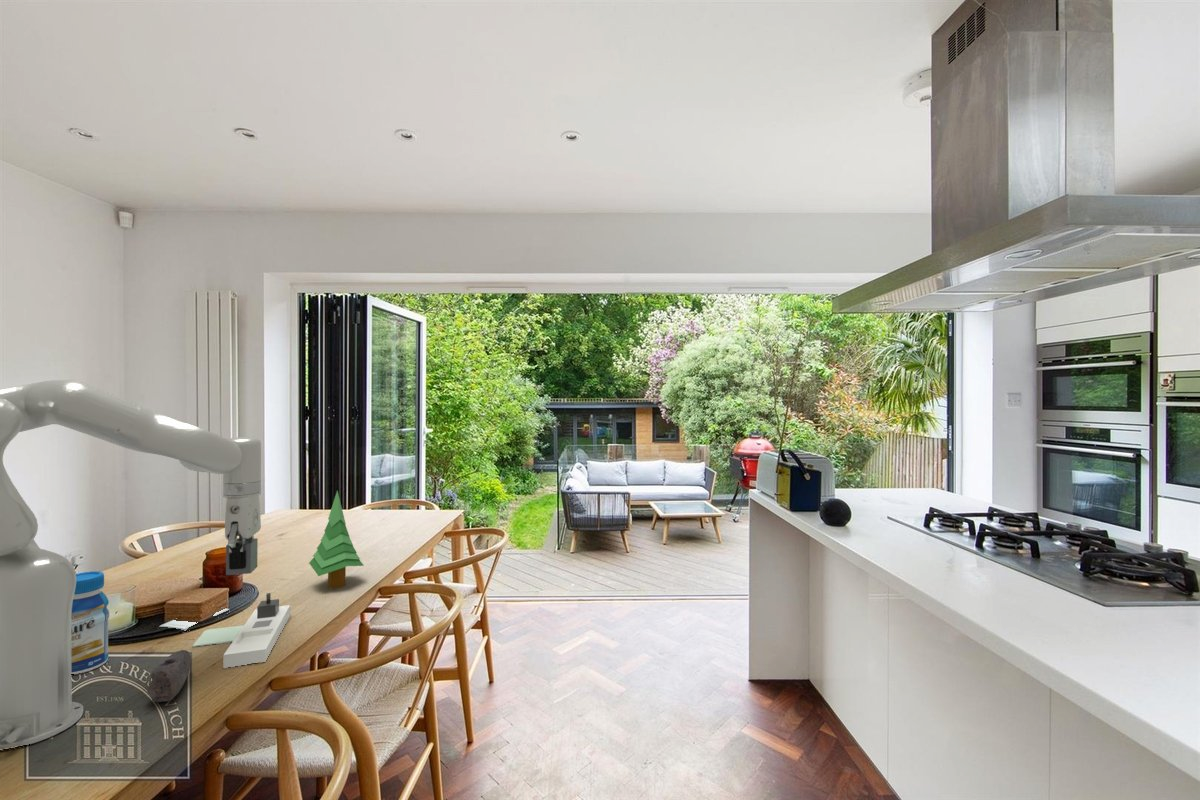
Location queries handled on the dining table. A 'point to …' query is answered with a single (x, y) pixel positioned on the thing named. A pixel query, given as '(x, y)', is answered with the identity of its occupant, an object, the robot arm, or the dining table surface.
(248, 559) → the charger
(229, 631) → the mat
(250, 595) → the dining table surface
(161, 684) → the perforated stone tool
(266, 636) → the power strip
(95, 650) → the supplement bottle
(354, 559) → the decorative tree
